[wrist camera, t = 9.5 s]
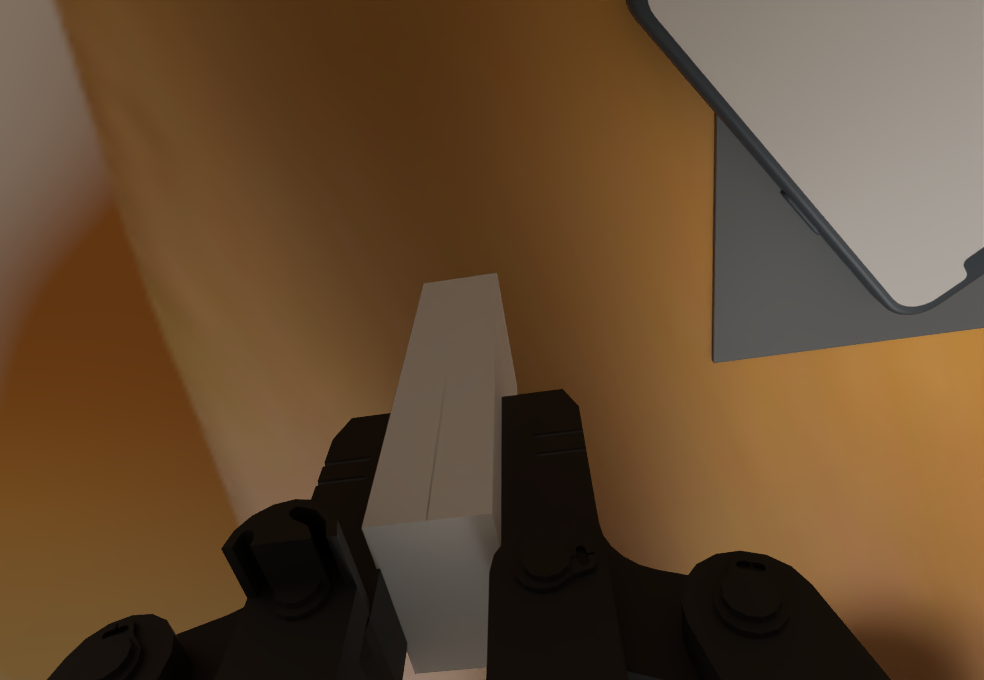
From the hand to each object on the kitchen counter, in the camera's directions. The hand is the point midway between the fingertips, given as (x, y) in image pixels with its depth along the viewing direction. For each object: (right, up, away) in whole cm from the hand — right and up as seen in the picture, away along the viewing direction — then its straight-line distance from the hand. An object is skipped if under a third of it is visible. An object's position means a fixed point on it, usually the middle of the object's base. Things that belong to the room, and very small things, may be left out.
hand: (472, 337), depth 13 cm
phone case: (+13, +9, +7) cm, 17 cm away
